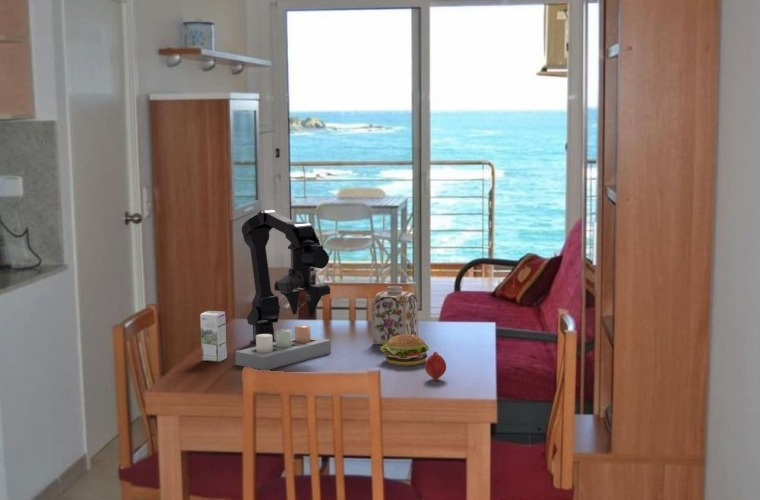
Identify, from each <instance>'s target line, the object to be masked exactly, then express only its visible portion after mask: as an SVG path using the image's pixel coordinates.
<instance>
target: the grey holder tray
mask: <svg viewBox="0 0 760 500" xmlns="http://www.w3.org/2000/svg"><path fill="white" fill-rule="evenodd" d="M331 347H332V344H331V339H325V338H320V337H315V336H311V342H309V343H305V344H300V343H295V336H294V337H293V336H292V347H289V348H285V349H282V348H277V347H276V342H273V352H269V353H265V354H263V353H258V352H256V346H253V347H248V348H244V349H240V350H236V351H235V366H240V367H244V368H247V367H246V366H250V367H253V368H256V369H255V370H258V369H262V370H265V371H269V370H272V369H276V368H280V367H284V366H288V365H290V364H294V363H298V362H304V361H306V360H310V359H314V358H318V357H321V356H325V355H328V354H331V353H332V348H331ZM253 368H252V369H253ZM262 370H261V371H262Z"/></svg>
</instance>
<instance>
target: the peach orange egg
mask: <svg viewBox="0 0 760 500" xmlns="http://www.w3.org/2000/svg"><path fill="white" fill-rule="evenodd" d="M311 335H312V334H311V325H307V324H298V325H295V326H294V337H295V343H300V344H305V343H309V342H311V337H312V336H311Z"/></svg>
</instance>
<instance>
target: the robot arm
mask: <svg viewBox="0 0 760 500" xmlns="http://www.w3.org/2000/svg"><path fill="white" fill-rule="evenodd" d="M243 223H244V224H243V225H242V227H241V233H242V237H243V241H244V243H245V244H246V245H247V246H248V248H249V251H250V257H251V265H252V274H253V279H254V288H255V293H254V297H253V299H252V302H251V306H252V307H251V310H250V312H249V314H247V318H246V319H247V320H246V321H247V324H248V325H250V326H252V339H251V340H249V343H253V344H256V335H258V334H271V335H272V341H273V342H276V338H275V328H274V323H278V322H279V318H280V312H281V305H280V302H279V301H280V300H279V296H278V295H275V294H274V293H273V291H272V286H271V279H270V272H269V271H270V270H269V262H268V256H267V255H268V254H267V248H266V247H267V245H268V242H269V239H270V232H271V230H273V229H274V230H277V231H278V232H280V233H283V234H284V235H285V238H286V239H287V240H288V241H289V242H290V245H288V246H287V249H288V250H291V268H289V269H288V273H287V275H284V276H283V277H282V278H280V279H279V280H276V281H275V283H274V285H273V286H274V291H278V292H280V294H281V295H283V296H284V297H285V298H286V299H287V301H288V304H289V307H290V310H291V312H292V314H293V315H296V314H297V313H298V309H299V308H298V305H299V300H300V292H301V291H302V292H307V293H308V294H307V295H304V297H305V299H306V301H307V315H308V317H309V318H312V317H313V316H314V313H315V311H316V309H317V306H318V304H319V303H320V301H321V299H322V297H325V296H326V295H331V287H330V286H329V284H324V283H318V284H317V283H316V284H315V280H312V272H314V271H315V268H316V269H324V268H326V267H327V266H328V263H329V262H330V261H329V260H330V256H329V253H328V252H327V250H325V249H324V246H323V245H321V242H320V239H319V237H318V236H317V234H316V232H315V229H314V228H313V225H312V224H311V223H309V222H304V221H294V220H292V219H290V218H288V217H286V216H284V215H282V214H280V213H279V212H276V210H273V209H265V210H263V209H262V210H260V211H259V212H258V213H257V214H256V215H254V216H252V217H250V218H248V219H247V220H246V221H245V222H243Z"/></svg>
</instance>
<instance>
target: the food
mask: <svg viewBox="0 0 760 500" xmlns="http://www.w3.org/2000/svg"><path fill="white" fill-rule="evenodd" d="M429 348H430V347H429V346H428V344H426V343H425V342H424V340H423V339H422V338H421V337H420V336H419V335H418V336H415V335H409V334H404V335H397V336H394V337H392V338H390V339H389V340H388V342H387V343H386V344H385V343H383V345H380V346H379V350H381V352H383V353H384V354H383V356H384V357H385V360H386V363H388V364H390V365H395V366H400V365H401V366H403V367H404V366H405V367H406V366H409V367H410V366H417V365H420V364H423V363H425V362H426V360H427V359H428V355H427V354H428V351H429V350H430V349H429ZM401 366H400V367H401Z"/></svg>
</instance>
